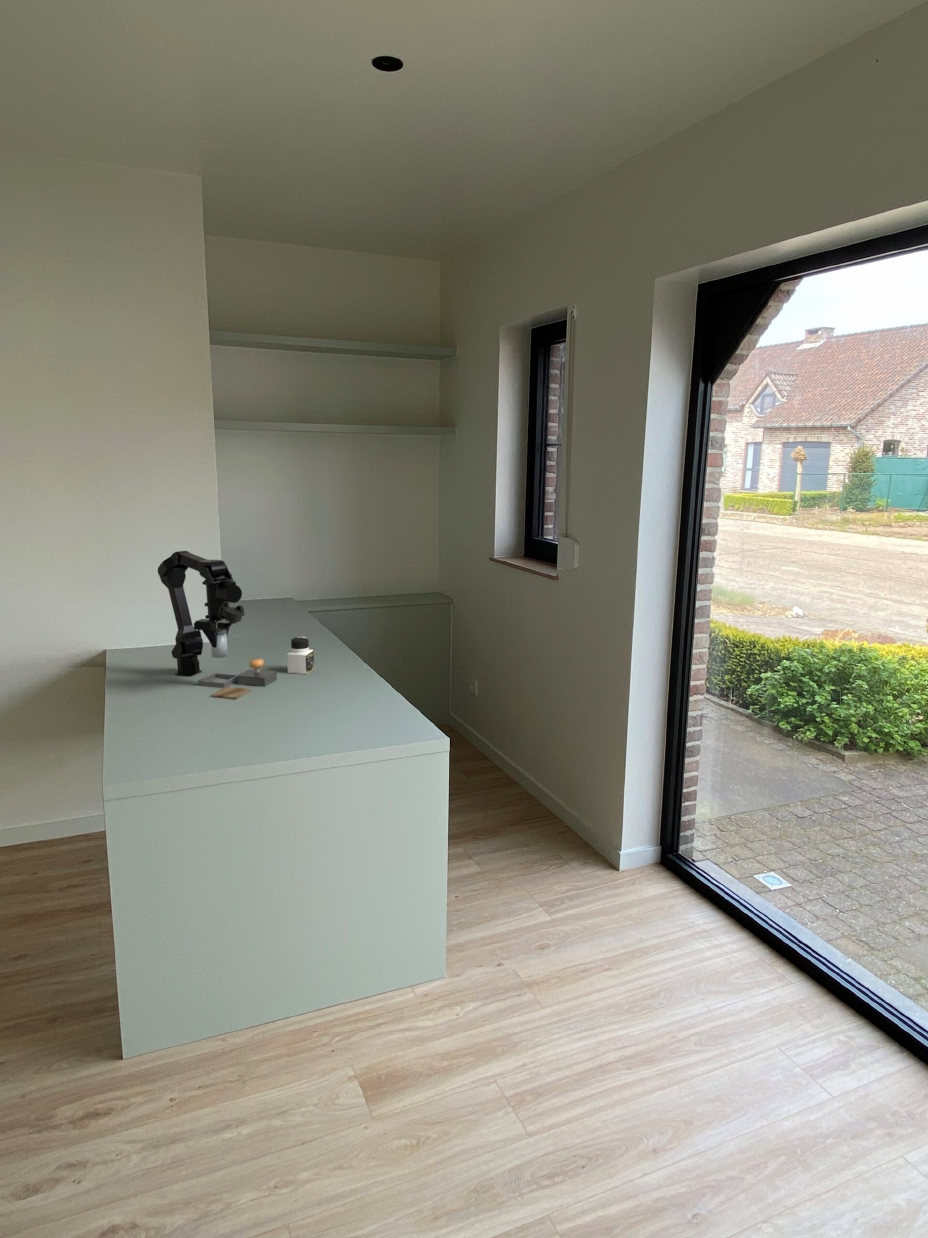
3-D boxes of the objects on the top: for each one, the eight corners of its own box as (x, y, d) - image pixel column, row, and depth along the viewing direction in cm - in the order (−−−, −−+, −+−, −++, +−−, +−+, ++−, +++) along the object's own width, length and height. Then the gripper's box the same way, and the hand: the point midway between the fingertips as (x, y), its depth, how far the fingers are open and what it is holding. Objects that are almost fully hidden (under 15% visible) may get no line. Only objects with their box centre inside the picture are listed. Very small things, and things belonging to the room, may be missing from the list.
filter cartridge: (209, 657, 262) (207, 630, 260) (217, 653, 267) (215, 627, 265) (222, 658, 261) (220, 631, 259) (230, 654, 266) (229, 628, 264)
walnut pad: (210, 696, 253) (210, 694, 253) (226, 688, 261) (226, 686, 261) (236, 699, 250) (235, 697, 250) (250, 690, 259) (250, 689, 259)
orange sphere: (247, 674, 266) (247, 661, 266) (254, 670, 271) (253, 658, 270) (259, 675, 265) (259, 662, 264) (266, 671, 269) (265, 659, 269)
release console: (238, 683, 266) (237, 675, 266) (250, 677, 274) (250, 668, 273) (264, 686, 264) (264, 677, 263) (276, 679, 271) (276, 671, 270)
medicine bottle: (306, 674, 278) (305, 641, 275) (287, 673, 279) (285, 639, 276) (314, 668, 284) (313, 636, 282) (295, 667, 286) (294, 635, 283)
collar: (197, 685, 265) (197, 680, 264) (214, 676, 274) (214, 672, 274) (224, 687, 262) (224, 683, 262) (240, 679, 271) (240, 675, 271)
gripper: (222, 605, 249) (225, 654, 252) (252, 595, 266) (255, 640, 270) (191, 604, 252) (194, 652, 255) (223, 593, 269) (226, 638, 273)
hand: (219, 645), depth 263 cm, fingers closed on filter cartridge, 5 cm apart
